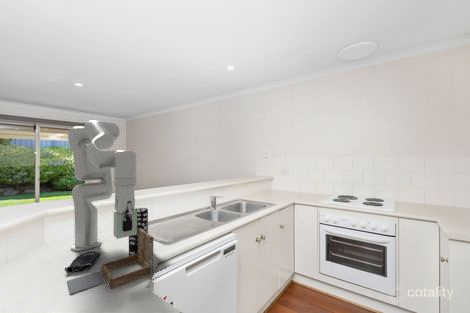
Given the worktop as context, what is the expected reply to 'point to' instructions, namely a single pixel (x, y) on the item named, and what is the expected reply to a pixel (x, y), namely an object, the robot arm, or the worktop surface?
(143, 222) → the white-spotted black cylinder
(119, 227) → the module
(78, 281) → the mat
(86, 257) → the dark blue pouch
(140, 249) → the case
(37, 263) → the worktop surface
